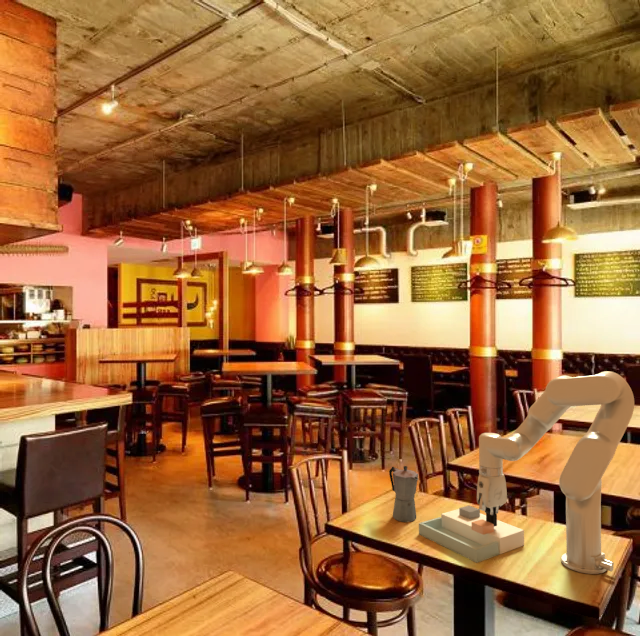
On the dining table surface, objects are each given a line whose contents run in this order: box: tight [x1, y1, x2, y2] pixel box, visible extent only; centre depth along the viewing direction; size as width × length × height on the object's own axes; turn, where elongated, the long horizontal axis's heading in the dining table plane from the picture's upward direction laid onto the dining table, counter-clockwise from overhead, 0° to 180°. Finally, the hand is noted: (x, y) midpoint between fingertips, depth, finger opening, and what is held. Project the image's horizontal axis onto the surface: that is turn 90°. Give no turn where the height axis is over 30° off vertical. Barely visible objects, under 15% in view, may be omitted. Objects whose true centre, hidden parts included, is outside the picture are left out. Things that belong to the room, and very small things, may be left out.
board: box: [440, 508, 525, 555], centre depth 184 cm, size 26×12×5 cm, turn 32°
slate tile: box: [458, 504, 481, 519], centre depth 189 cm, size 5×5×2 cm
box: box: [418, 516, 501, 563], centre depth 178 cm, size 26×11×4 cm, turn 32°
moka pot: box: [388, 465, 419, 523], centre depth 202 cm, size 10×15×20 cm, turn 39°
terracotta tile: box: [472, 519, 494, 535], centre depth 176 cm, size 5×5×2 cm
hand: (491, 525), depth 178 cm, fingers closed
